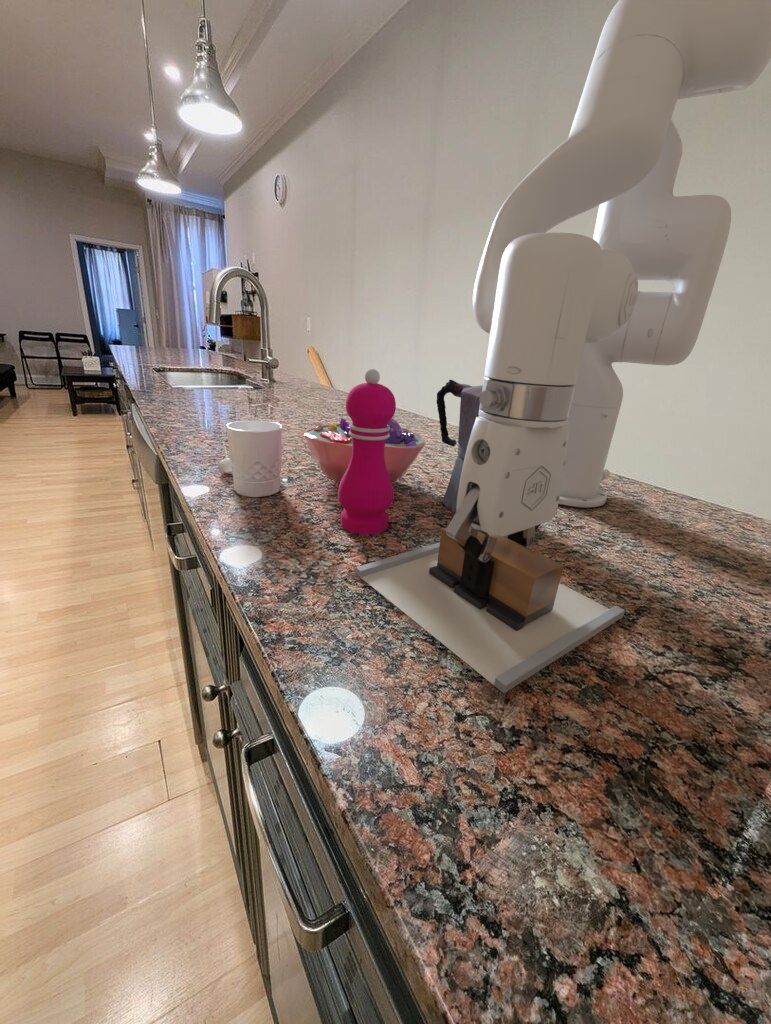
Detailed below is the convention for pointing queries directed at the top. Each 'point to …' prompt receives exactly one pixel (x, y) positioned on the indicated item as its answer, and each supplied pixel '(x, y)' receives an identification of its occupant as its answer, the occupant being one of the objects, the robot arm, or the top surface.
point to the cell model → (336, 448)
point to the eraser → (510, 576)
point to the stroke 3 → (505, 616)
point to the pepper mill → (367, 458)
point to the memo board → (485, 619)
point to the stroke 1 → (443, 577)
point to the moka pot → (466, 423)
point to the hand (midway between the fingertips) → (491, 581)
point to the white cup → (255, 456)
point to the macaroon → (225, 466)
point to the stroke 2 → (470, 597)
